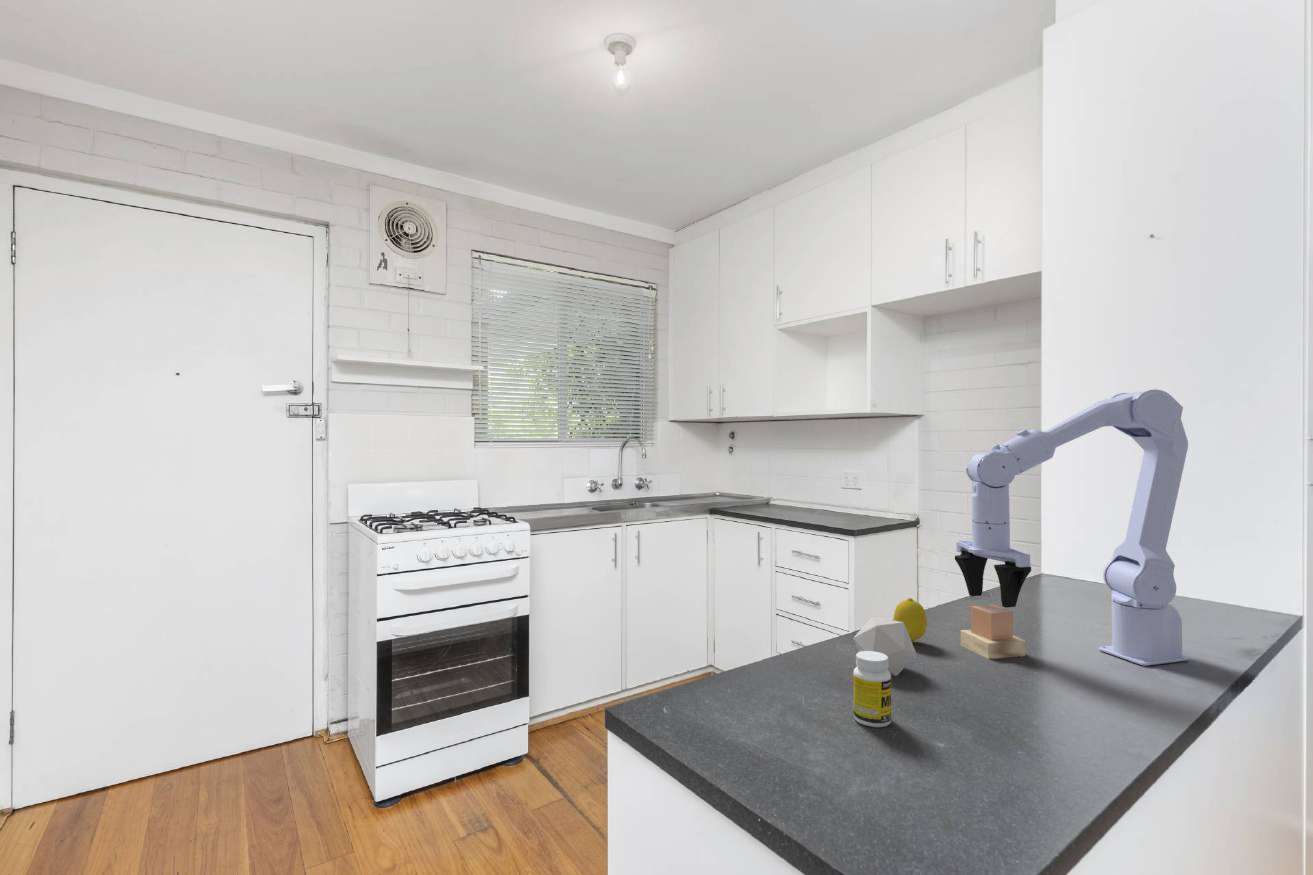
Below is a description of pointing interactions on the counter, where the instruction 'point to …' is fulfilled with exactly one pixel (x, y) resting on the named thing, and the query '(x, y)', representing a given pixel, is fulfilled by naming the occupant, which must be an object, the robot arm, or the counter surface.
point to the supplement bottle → (872, 689)
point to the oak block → (993, 645)
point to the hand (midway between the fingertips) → (991, 600)
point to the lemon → (911, 618)
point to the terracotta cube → (992, 622)
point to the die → (887, 642)
